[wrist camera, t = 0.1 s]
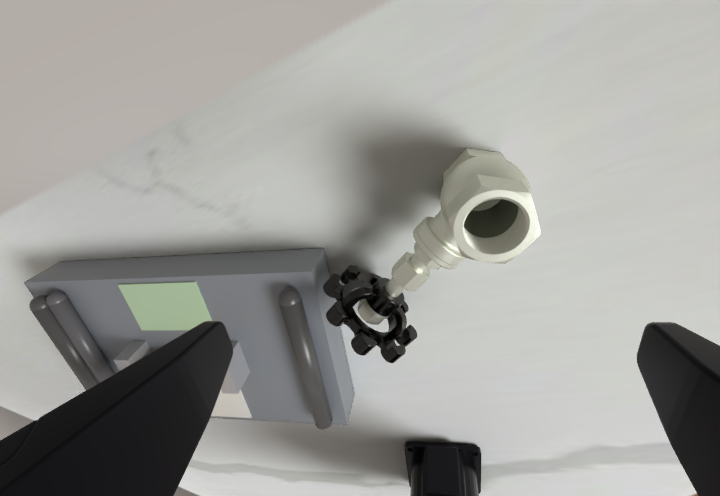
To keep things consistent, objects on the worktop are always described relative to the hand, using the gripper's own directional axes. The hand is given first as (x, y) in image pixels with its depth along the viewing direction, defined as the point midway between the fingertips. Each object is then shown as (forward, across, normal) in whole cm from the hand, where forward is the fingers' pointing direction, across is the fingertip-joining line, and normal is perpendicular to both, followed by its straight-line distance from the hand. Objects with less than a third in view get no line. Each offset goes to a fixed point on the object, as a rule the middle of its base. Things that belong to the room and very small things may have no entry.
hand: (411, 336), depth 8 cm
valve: (+15, 0, +4) cm, 16 cm away
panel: (+15, +18, +12) cm, 26 cm away
